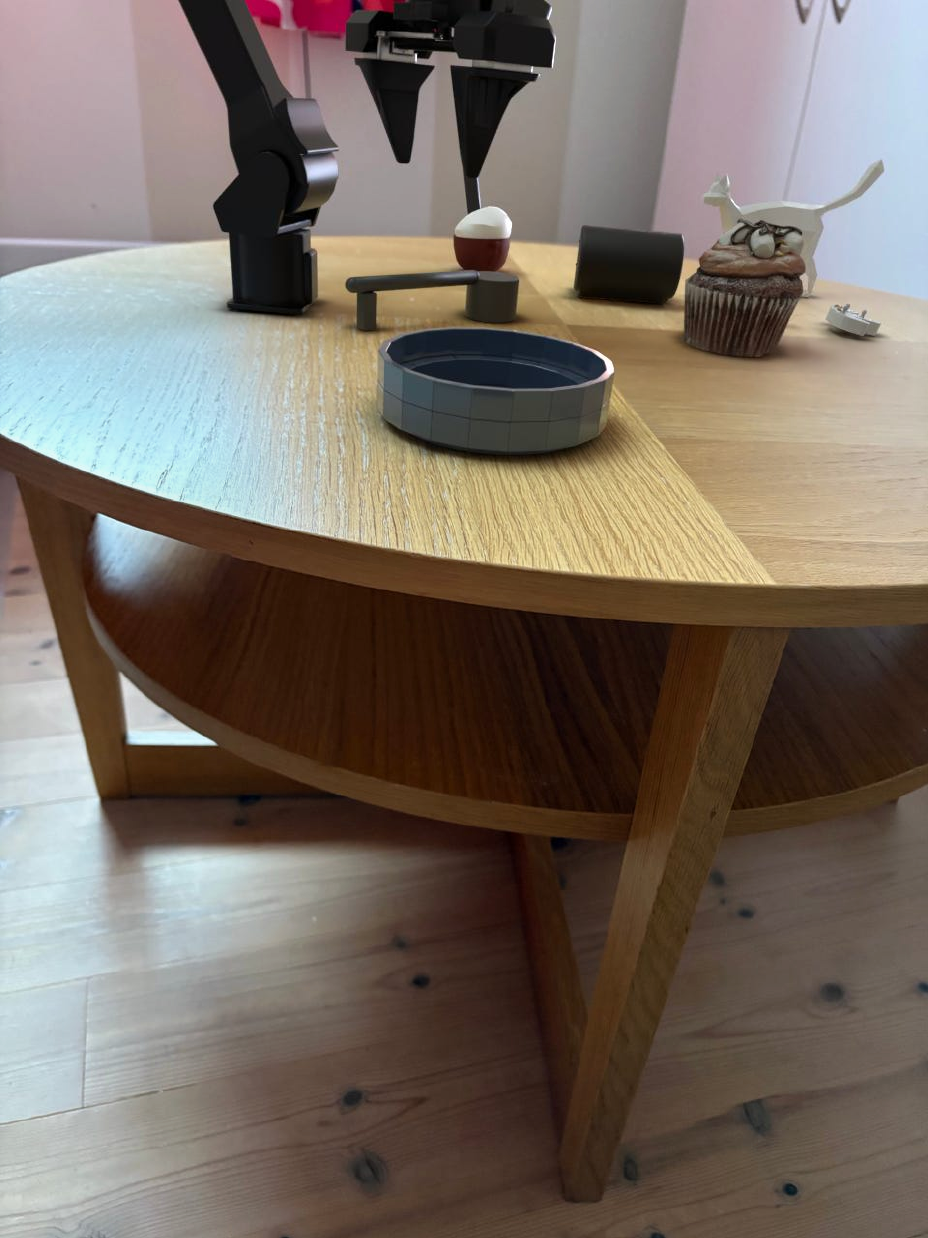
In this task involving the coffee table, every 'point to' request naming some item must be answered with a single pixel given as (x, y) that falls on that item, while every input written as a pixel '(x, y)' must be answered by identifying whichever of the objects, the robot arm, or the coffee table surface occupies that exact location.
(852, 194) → the cat figurine
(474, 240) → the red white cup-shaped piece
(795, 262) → the cupcake
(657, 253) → the end cap
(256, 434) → the coffee table surface
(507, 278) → the ladle
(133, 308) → the coffee table surface
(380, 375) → the bowl
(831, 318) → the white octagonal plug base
